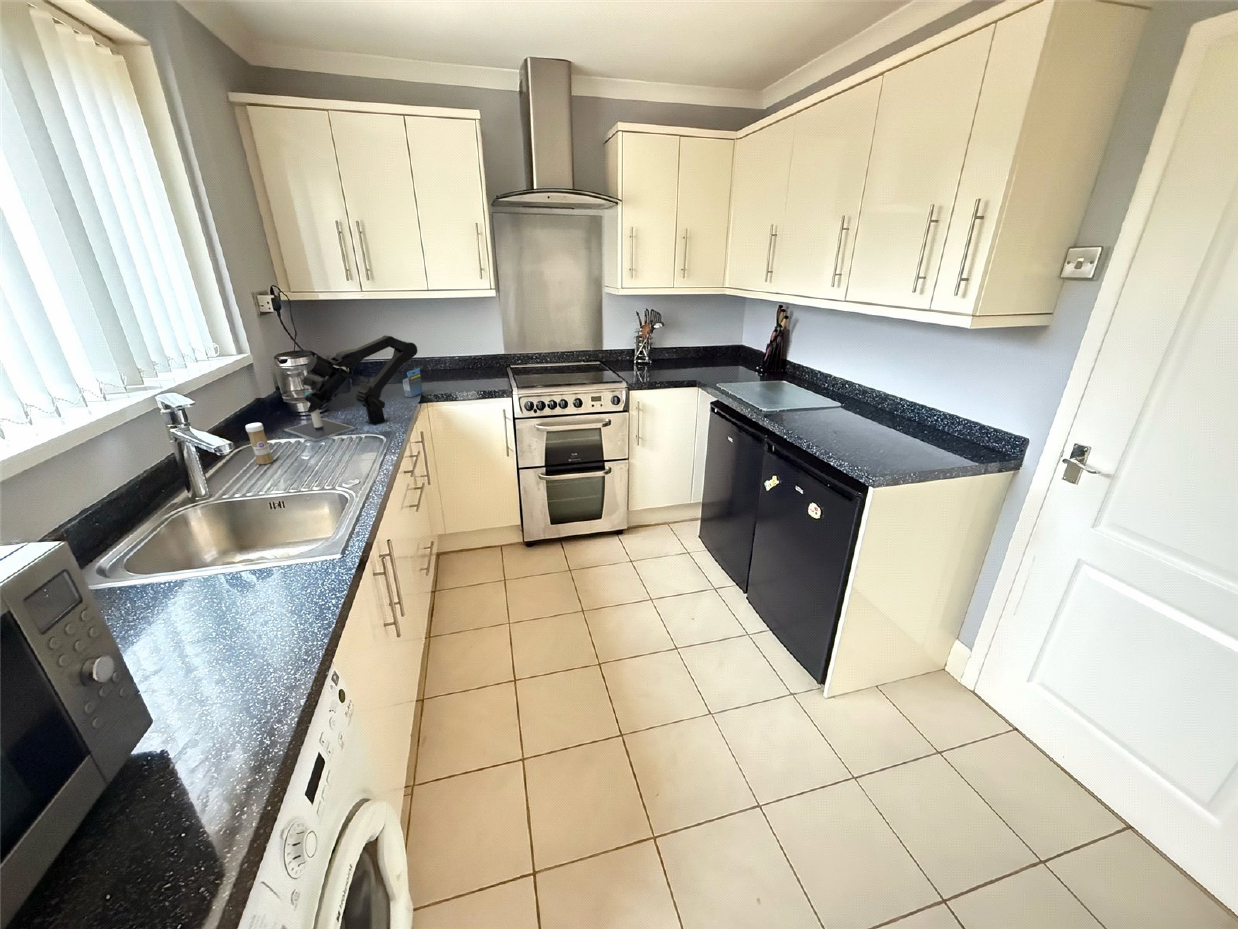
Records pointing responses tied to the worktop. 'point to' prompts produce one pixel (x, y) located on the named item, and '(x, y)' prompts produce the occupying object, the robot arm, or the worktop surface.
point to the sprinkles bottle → (259, 443)
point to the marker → (315, 417)
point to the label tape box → (412, 384)
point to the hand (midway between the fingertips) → (310, 410)
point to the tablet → (319, 430)
